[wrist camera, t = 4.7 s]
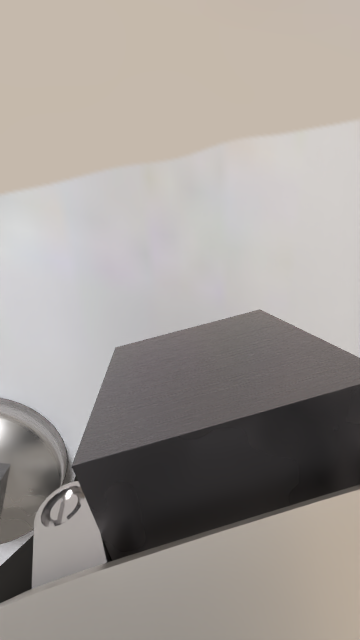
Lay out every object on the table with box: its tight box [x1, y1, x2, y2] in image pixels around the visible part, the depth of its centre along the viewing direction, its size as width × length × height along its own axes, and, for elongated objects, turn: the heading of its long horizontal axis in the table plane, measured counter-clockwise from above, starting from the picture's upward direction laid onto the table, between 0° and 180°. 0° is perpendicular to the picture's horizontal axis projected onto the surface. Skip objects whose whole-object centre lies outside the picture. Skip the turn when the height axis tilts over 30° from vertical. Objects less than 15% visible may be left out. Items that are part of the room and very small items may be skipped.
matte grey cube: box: [72, 310, 360, 561], centre depth 8 cm, size 6×6×6 cm
